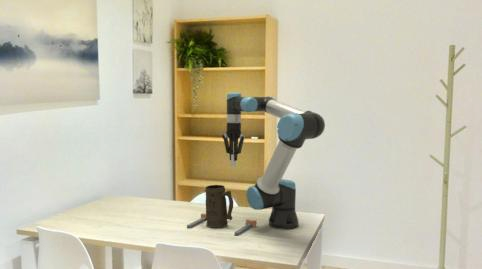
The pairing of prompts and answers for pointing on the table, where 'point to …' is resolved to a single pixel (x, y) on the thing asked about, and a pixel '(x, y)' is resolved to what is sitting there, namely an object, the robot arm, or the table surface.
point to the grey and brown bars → (248, 225)
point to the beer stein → (217, 206)
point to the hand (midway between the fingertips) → (233, 166)
